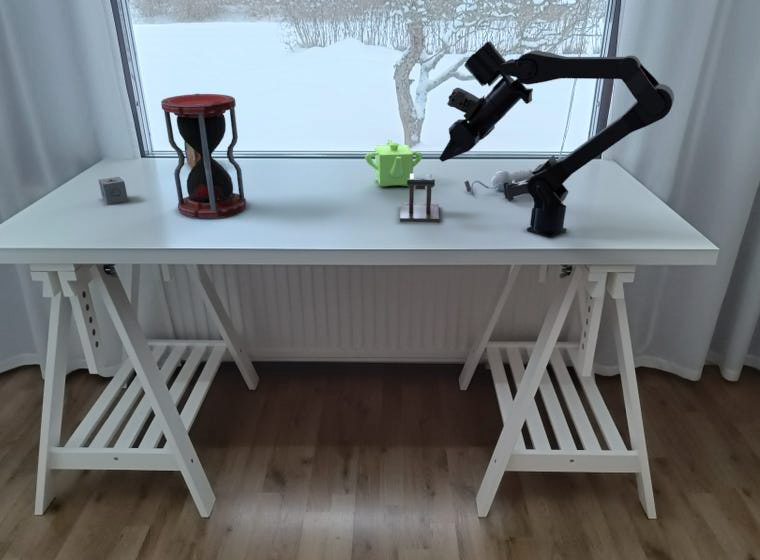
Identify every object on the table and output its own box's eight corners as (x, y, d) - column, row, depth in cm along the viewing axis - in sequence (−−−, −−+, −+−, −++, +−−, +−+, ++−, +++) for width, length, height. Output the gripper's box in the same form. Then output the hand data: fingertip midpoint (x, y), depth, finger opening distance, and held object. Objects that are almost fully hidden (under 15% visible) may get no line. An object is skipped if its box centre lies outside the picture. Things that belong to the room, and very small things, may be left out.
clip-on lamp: (466, 210, 168) (537, 198, 164) (462, 186, 164) (535, 173, 160) (467, 192, 177) (534, 180, 173) (463, 169, 174) (532, 157, 170)
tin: (185, 161, 198) (181, 132, 194) (196, 160, 199) (192, 131, 195) (195, 173, 186) (191, 143, 182) (206, 172, 188) (202, 141, 183)
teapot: (399, 195, 169) (399, 152, 164) (357, 186, 176) (356, 145, 170) (429, 181, 180) (430, 141, 175) (388, 173, 186) (388, 135, 181)
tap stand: (439, 223, 150) (441, 183, 145) (399, 223, 151) (400, 182, 146) (438, 208, 160) (439, 170, 155) (401, 208, 160) (401, 169, 155)
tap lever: (434, 188, 142) (435, 176, 141) (406, 188, 142) (407, 176, 142) (433, 189, 153) (433, 179, 152) (407, 189, 153) (407, 178, 152)
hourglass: (178, 221, 151) (160, 107, 138) (178, 201, 164) (161, 94, 152) (249, 215, 155) (237, 103, 142) (243, 196, 168) (232, 92, 155)
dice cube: (107, 204, 162) (103, 184, 159) (102, 199, 165) (98, 179, 163) (128, 201, 164) (124, 181, 162) (122, 196, 168) (118, 176, 165)
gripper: (481, 68, 144) (434, 120, 153) (458, 80, 129) (407, 136, 138) (516, 106, 145) (467, 156, 155) (497, 122, 130) (444, 176, 140)
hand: (446, 155), depth 147 cm, fingers open, 9 cm apart
